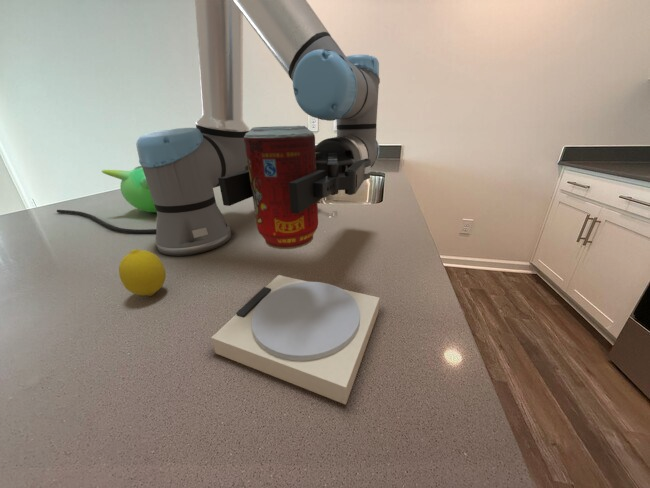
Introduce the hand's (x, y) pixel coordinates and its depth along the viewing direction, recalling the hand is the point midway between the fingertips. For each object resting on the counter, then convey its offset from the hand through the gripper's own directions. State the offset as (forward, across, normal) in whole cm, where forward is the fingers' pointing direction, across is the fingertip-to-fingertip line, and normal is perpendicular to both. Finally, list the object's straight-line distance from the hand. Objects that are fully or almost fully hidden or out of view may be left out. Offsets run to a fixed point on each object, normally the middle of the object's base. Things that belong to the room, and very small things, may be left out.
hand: (257, 195), depth 24 cm
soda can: (-5, 0, -7) cm, 8 cm away
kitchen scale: (-3, -2, -18) cm, 18 cm away
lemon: (-1, +24, -18) cm, 30 cm away
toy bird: (-32, +62, -18) cm, 72 cm away
